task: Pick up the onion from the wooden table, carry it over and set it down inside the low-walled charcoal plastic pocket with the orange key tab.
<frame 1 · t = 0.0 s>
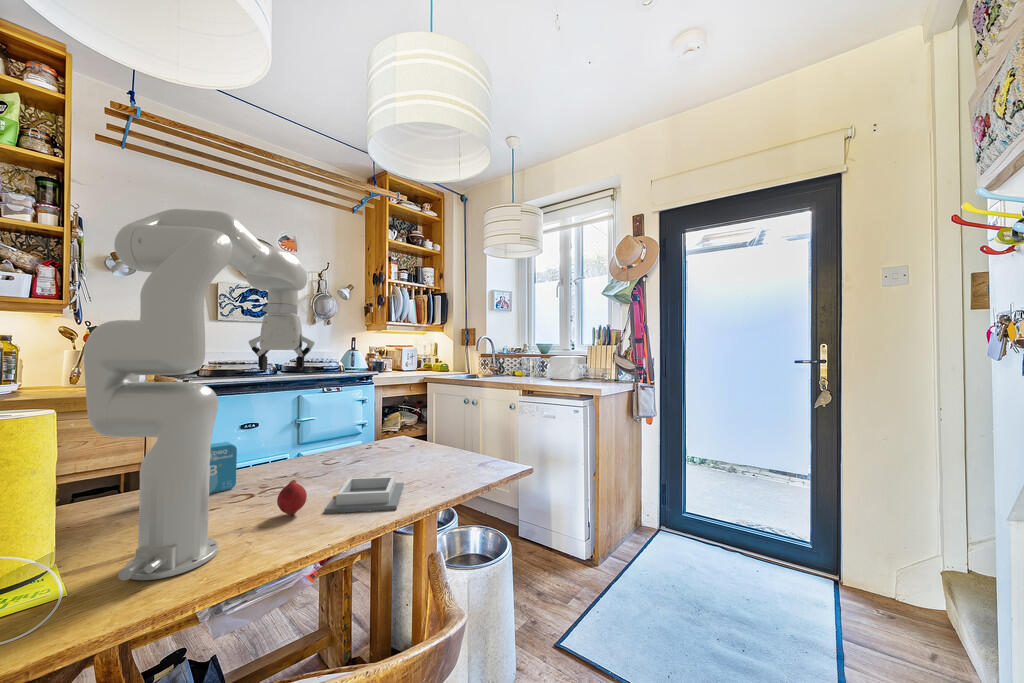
hand: (281, 370, 116), 31 cm above the table, tool pointing down, fingers open, 9 cm apart
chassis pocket: (367, 498, 101), on the table
data package: (206, 493, 104), on the table
onion: (291, 516, 91), on the table
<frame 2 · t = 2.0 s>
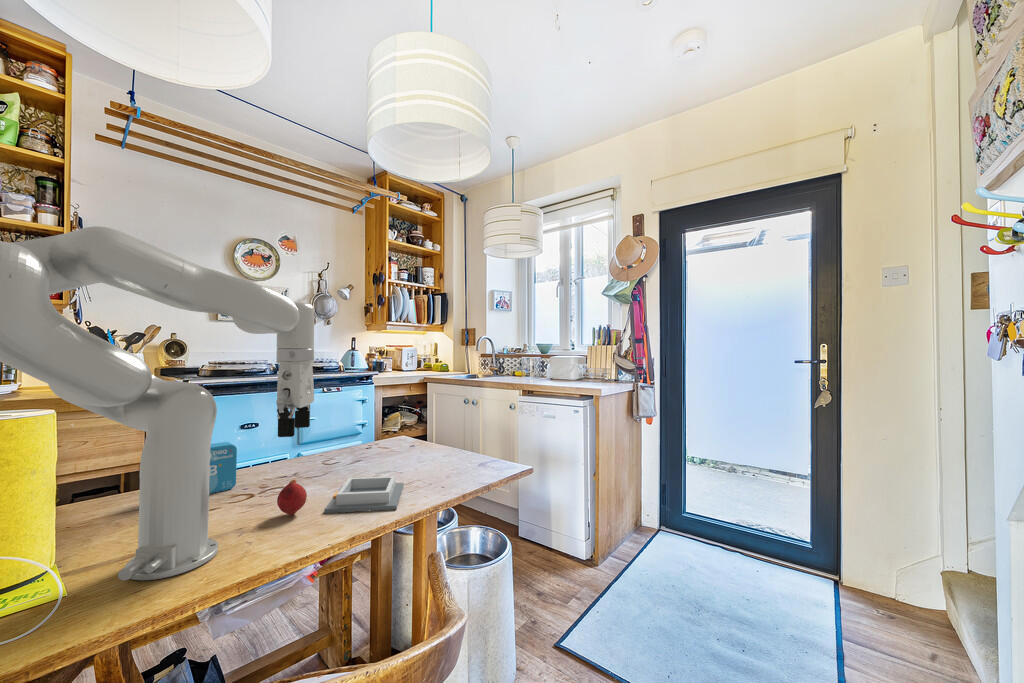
hand: (294, 431, 91), 19 cm above the table, tool pointing down, fingers open, 9 cm apart
nothing on the table moved.
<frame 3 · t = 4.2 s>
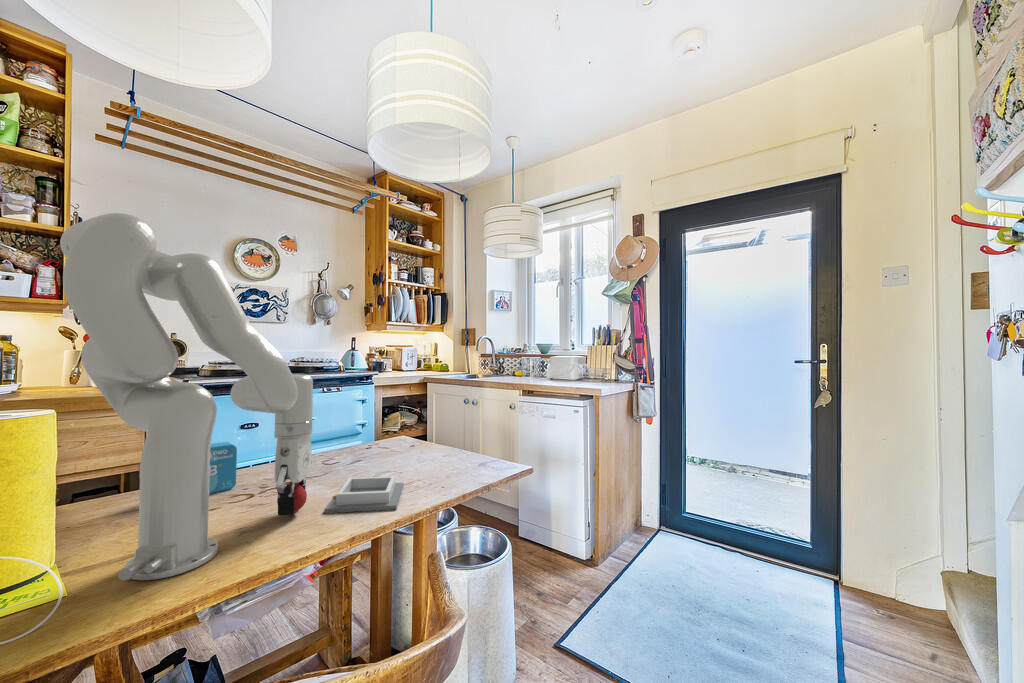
hand: (292, 507, 91), 2 cm above the table, tool pointing down, fingers closed on onion, 5 cm apart
onion: (291, 516, 91), on the table, touching gripper
everything else where it was.
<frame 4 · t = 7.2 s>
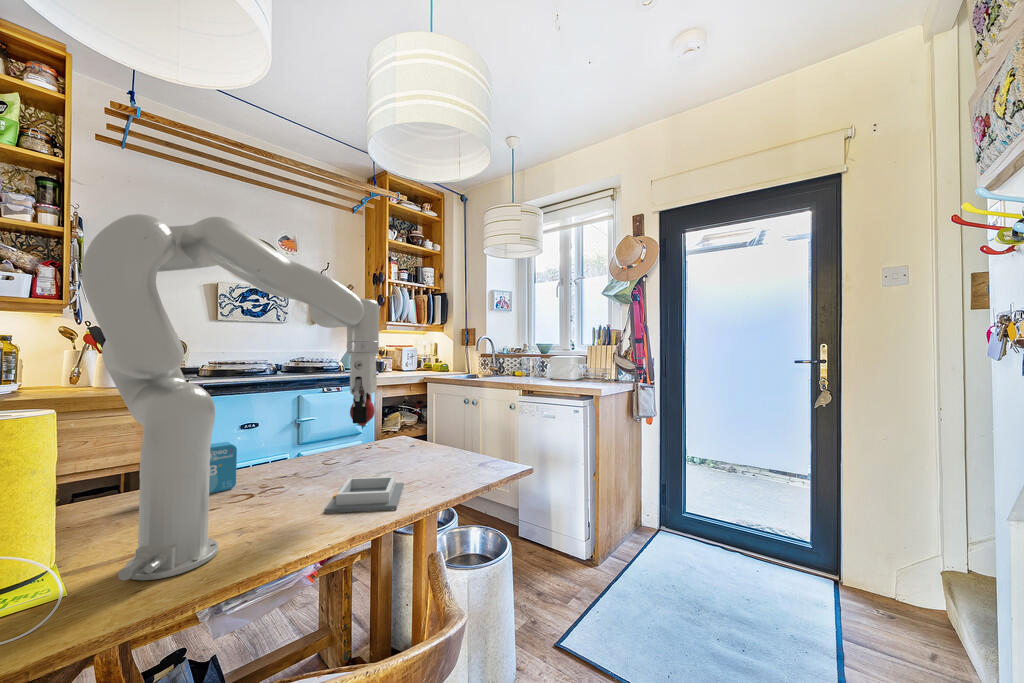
hand: (362, 419, 100), 20 cm above the table, tool pointing down, fingers closed on onion, 5 cm apart
onion: (362, 426, 100), point 18 cm above the table, touching gripper
everything else where it was.
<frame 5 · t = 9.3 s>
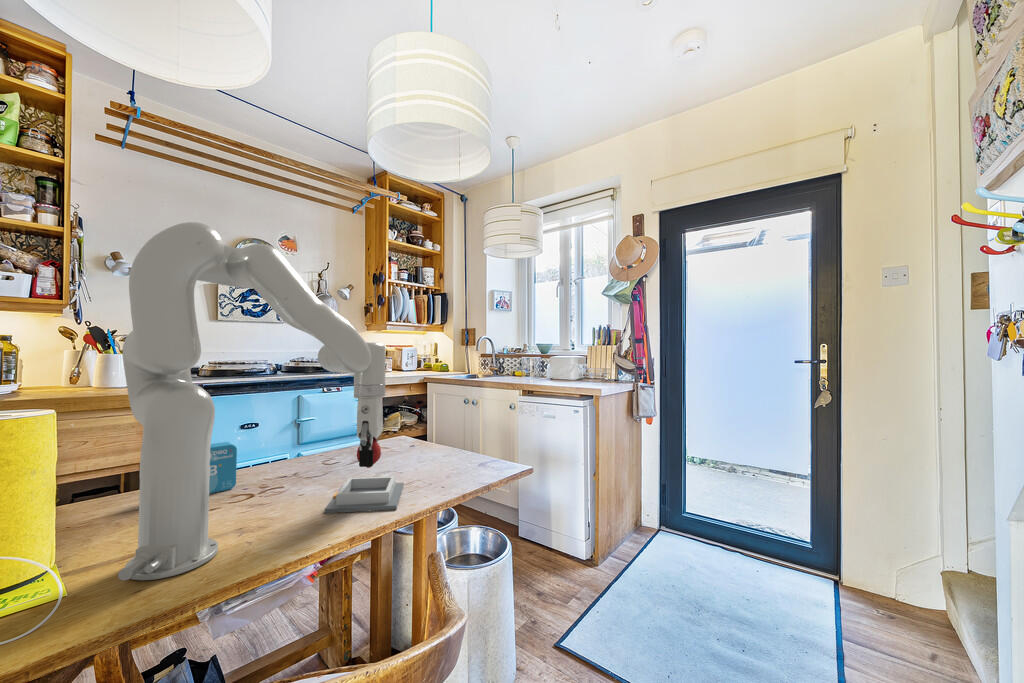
hand: (368, 461, 101), 9 cm above the table, tool pointing down, fingers closed on onion, 5 cm apart
onion: (368, 468, 101), point 8 cm above the table, touching gripper
everything else where it was.
when the fingers open (4 cm above the table, at t = 10.7 s): onion drops 2 cm, resting on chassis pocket.
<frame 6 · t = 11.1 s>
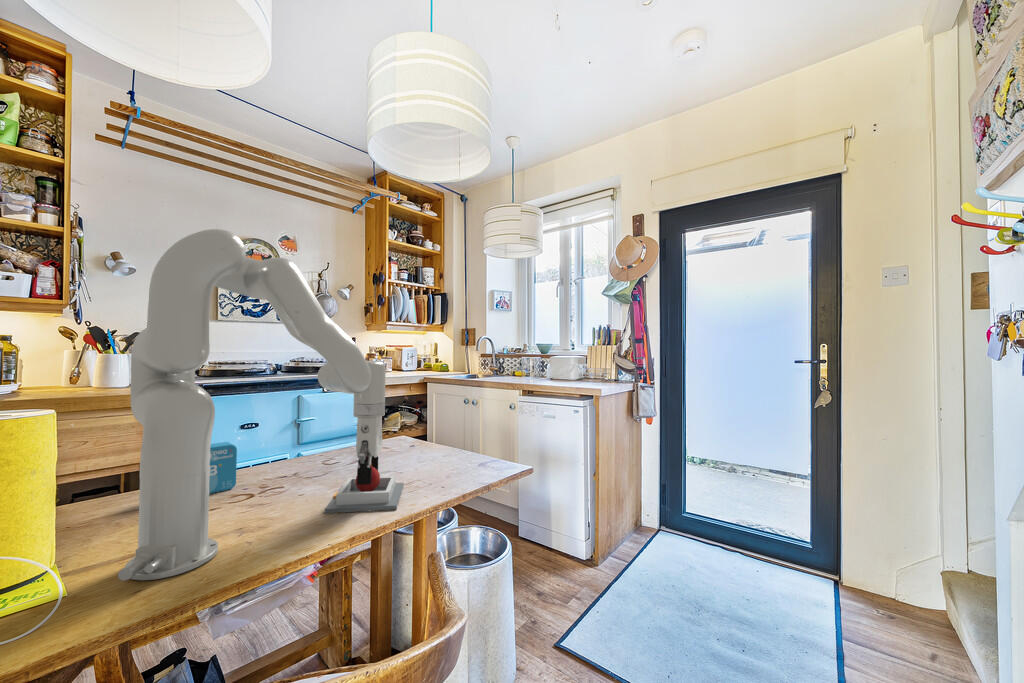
hand: (368, 477, 101), 5 cm above the table, tool pointing down, fingers open, 9 cm apart
onion: (367, 495, 101), point 1 cm above the table, touching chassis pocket
everything else where it was.
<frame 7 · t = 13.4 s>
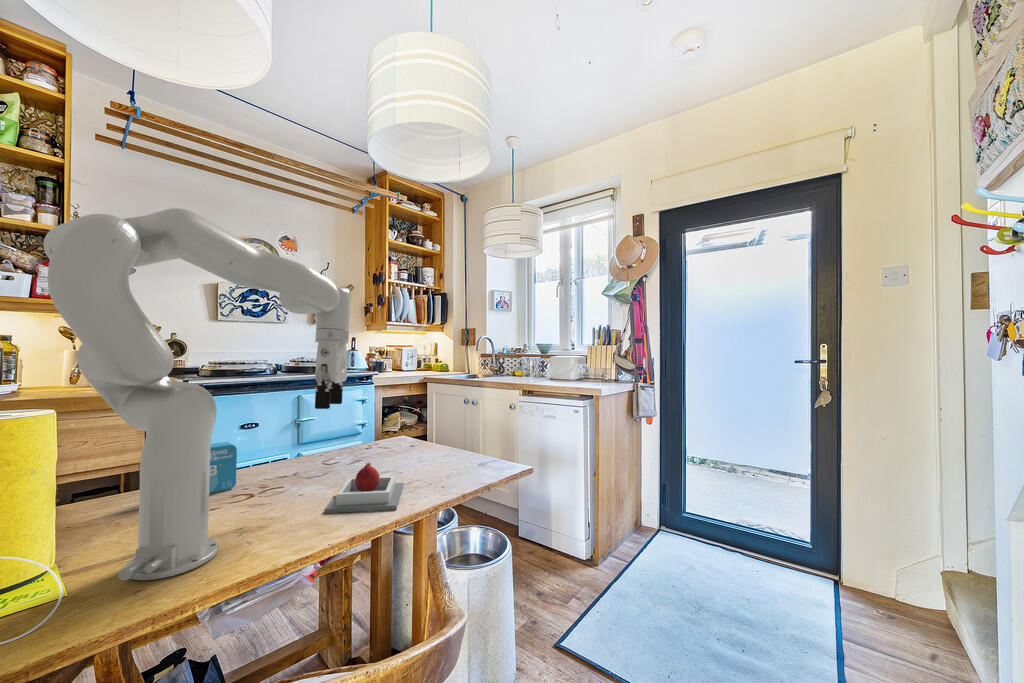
hand: (329, 406, 99), 24 cm above the table, tool pointing down, fingers open, 9 cm apart
nothing on the table moved.
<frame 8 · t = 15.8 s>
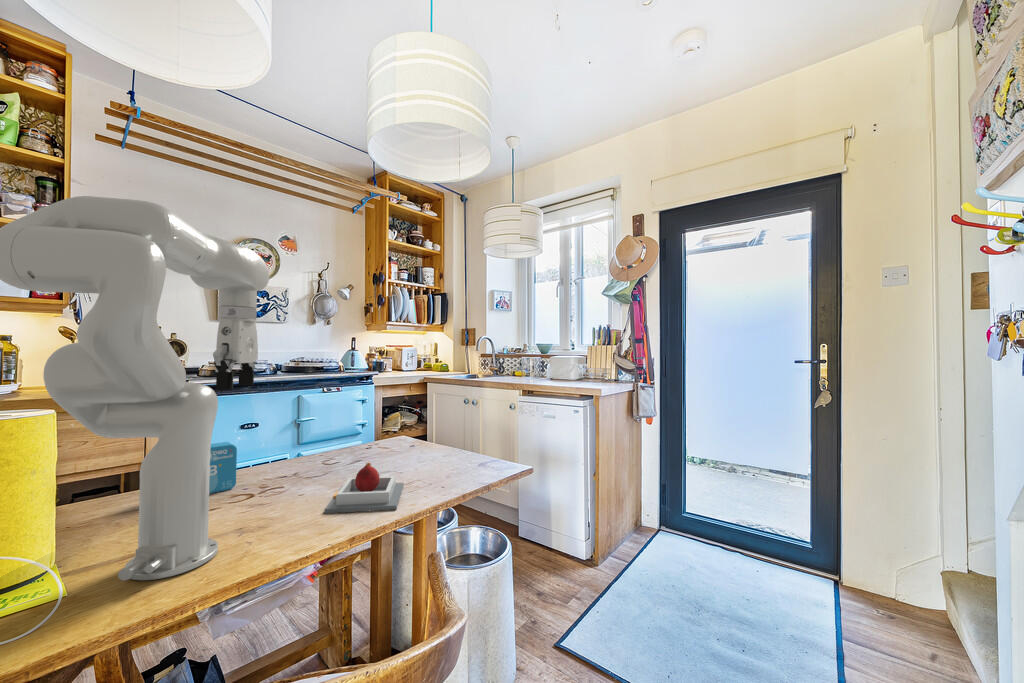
hand: (235, 387, 95), 28 cm above the table, tool pointing down, fingers open, 9 cm apart
nothing on the table moved.
at the end: onion 0.2 cm off-centre on the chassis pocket, point 0.8 cm above the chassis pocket's base; the gripper is holding nothing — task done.
